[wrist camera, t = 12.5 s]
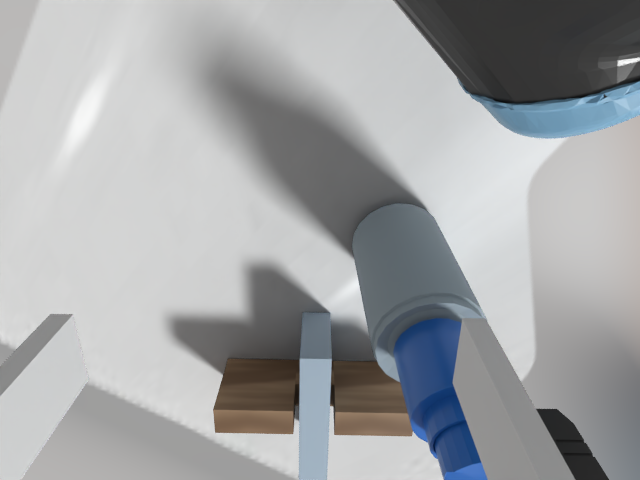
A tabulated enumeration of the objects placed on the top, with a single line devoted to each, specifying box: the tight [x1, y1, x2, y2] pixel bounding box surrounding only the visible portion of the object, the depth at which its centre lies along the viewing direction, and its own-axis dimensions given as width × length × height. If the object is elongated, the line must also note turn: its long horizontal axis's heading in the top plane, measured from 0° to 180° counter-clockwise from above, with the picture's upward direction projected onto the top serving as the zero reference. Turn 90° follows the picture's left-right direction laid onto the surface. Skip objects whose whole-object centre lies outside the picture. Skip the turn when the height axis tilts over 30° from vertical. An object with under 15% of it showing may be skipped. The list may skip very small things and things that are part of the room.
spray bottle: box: [352, 203, 488, 480], centre depth 36 cm, size 9×9×25 cm
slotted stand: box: [213, 359, 413, 436], centre depth 51 cm, size 3×20×8 cm, turn 89°
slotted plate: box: [299, 312, 332, 480], centre depth 51 cm, size 16×3×8 cm, turn 179°
